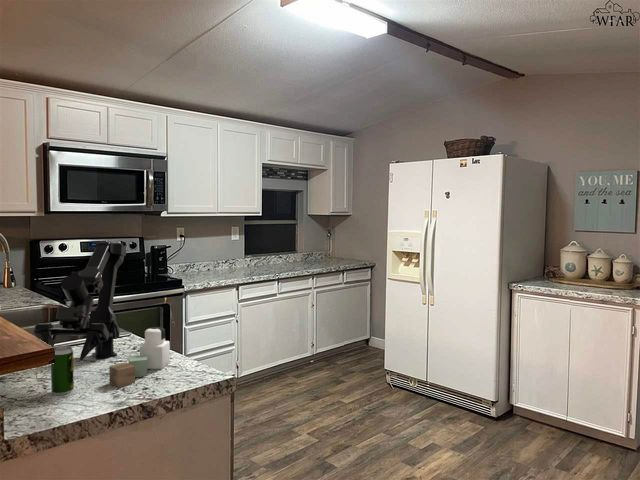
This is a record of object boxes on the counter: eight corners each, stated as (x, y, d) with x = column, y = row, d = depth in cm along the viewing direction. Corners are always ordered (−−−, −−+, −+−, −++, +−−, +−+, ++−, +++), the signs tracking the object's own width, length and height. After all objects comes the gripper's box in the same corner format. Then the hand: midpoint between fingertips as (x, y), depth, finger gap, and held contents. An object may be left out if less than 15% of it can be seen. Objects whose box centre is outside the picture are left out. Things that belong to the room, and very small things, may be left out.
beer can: (52, 397, 131) (51, 352, 130) (50, 390, 136) (49, 347, 135) (75, 393, 134) (74, 349, 133) (72, 387, 139) (71, 344, 138)
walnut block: (109, 383, 142) (109, 366, 142) (126, 379, 146) (126, 362, 146) (117, 387, 139) (117, 370, 139) (134, 383, 143) (134, 366, 142)
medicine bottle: (148, 361, 162) (147, 325, 161) (170, 362, 162) (169, 325, 161) (139, 368, 155) (139, 330, 154) (162, 369, 155) (162, 331, 154)
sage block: (128, 372, 151) (128, 356, 151) (146, 370, 153) (146, 354, 153) (129, 378, 147) (129, 361, 146) (147, 376, 149) (147, 359, 148)
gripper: (35, 294, 139) (15, 344, 128) (105, 294, 140) (91, 344, 130) (49, 316, 147) (31, 365, 137) (114, 316, 149) (101, 364, 138)
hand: (63, 359), depth 135 cm, fingers open, 9 cm apart
